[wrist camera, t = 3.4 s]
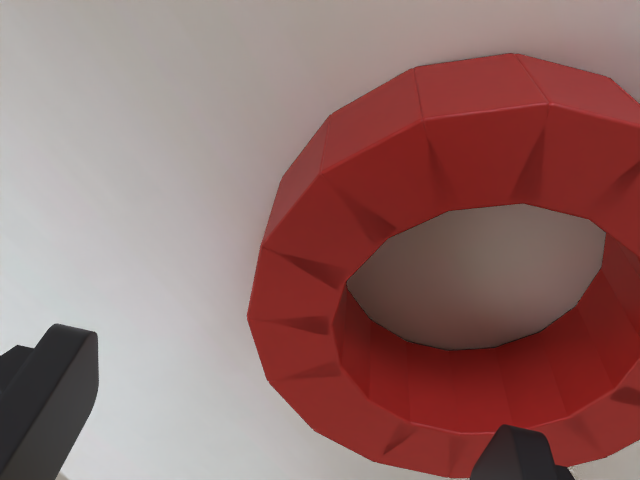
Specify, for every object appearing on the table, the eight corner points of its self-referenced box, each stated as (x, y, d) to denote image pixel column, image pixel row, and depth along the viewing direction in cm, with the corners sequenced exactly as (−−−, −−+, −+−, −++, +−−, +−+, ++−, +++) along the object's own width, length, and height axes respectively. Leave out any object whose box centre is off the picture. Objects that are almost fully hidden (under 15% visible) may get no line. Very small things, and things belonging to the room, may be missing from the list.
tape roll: (245, 350, 20) (223, 431, 17) (317, 1, 13) (301, 38, 10) (564, 421, 20) (593, 510, 17) (792, 124, 14) (901, 191, 11)
